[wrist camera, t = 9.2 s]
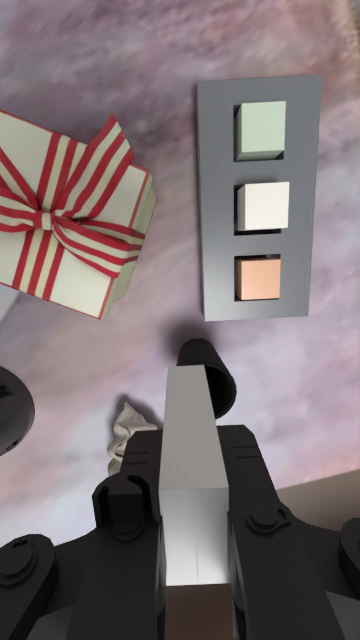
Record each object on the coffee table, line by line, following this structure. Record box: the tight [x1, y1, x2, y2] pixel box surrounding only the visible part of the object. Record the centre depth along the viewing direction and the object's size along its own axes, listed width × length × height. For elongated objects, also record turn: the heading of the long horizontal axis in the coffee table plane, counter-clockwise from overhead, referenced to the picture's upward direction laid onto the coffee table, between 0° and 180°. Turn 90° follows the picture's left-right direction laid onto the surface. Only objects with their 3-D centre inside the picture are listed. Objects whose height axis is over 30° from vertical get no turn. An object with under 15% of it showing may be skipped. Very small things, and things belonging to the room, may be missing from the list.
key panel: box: [196, 75, 322, 321], centre depth 40 cm, size 14×28×4 cm, turn 3°
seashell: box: [107, 402, 158, 476], centre depth 46 cm, size 10×15×10 cm
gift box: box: [0, 110, 157, 320], centre depth 34 cm, size 17×18×17 cm
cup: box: [177, 339, 237, 420], centre depth 41 cm, size 8×8×12 cm
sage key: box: [234, 101, 286, 162], centre depth 36 cm, size 5×5×5 cm
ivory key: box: [237, 182, 289, 231], centre depth 37 cm, size 5×5×5 cm
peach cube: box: [234, 257, 281, 300], centre depth 41 cm, size 5×5×5 cm
